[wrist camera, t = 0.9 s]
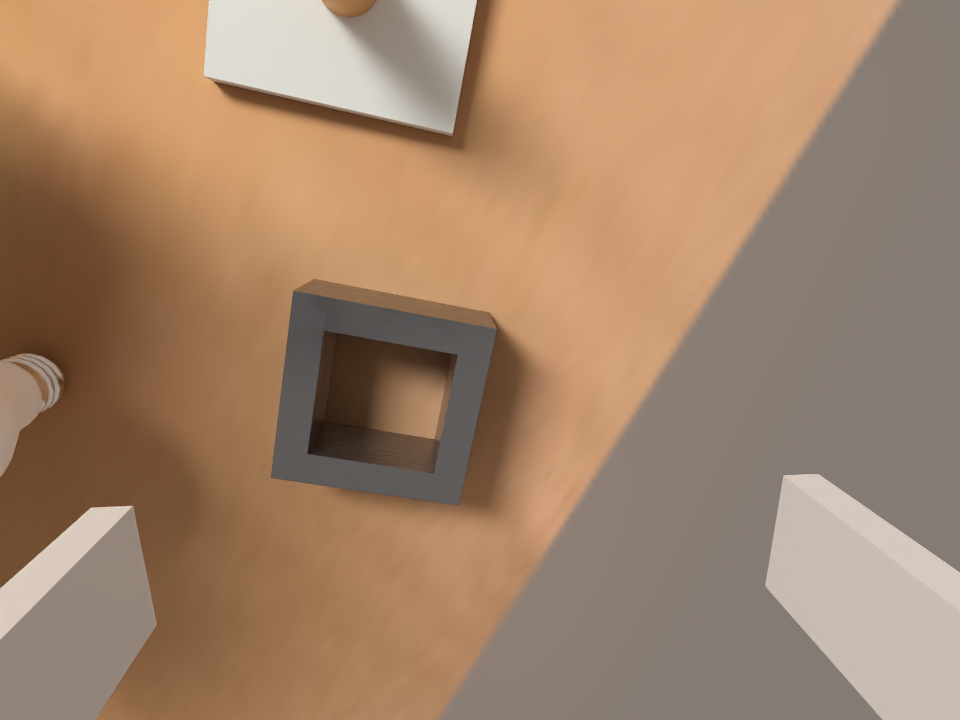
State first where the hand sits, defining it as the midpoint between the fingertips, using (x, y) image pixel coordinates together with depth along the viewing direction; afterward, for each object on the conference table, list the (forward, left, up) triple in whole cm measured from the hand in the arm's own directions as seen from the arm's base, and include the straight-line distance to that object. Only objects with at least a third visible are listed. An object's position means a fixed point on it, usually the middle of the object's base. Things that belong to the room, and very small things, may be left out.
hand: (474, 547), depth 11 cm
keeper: (-7, +15, -18) cm, 25 cm away
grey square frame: (-3, -3, -18) cm, 19 cm away
